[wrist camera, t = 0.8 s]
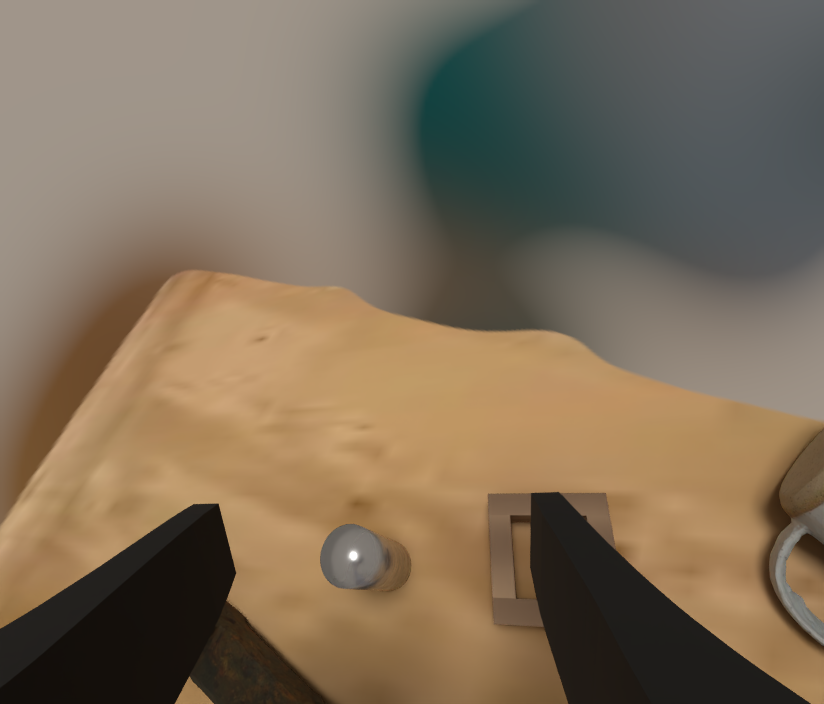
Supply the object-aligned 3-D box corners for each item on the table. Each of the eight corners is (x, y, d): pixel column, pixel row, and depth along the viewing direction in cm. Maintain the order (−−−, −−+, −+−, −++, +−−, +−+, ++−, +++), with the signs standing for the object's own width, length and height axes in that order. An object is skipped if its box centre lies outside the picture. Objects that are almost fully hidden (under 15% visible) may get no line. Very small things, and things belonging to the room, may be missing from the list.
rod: (410, 591, 24) (373, 589, 18) (365, 590, 25) (316, 587, 19) (411, 541, 25) (378, 524, 19) (369, 540, 26) (324, 523, 20)
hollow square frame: (619, 628, 21) (630, 631, 19) (496, 621, 23) (493, 624, 20) (598, 502, 24) (605, 492, 22) (490, 502, 26) (487, 493, 23)
